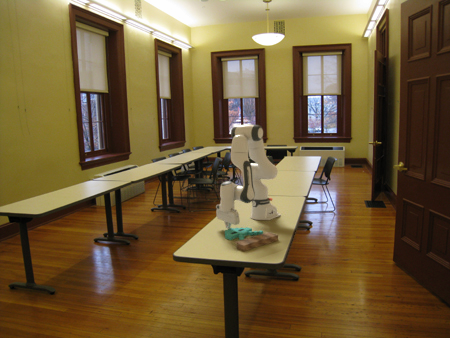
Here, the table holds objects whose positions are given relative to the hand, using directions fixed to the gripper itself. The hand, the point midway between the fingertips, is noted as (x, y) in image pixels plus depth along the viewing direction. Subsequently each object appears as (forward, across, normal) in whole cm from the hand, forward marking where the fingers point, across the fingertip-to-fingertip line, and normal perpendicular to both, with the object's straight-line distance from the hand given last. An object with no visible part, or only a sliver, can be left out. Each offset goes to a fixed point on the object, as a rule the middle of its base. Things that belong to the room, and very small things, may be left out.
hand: (228, 228), depth 232 cm
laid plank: (+2, -31, +2) cm, 31 cm away
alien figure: (+2, -12, -1) cm, 12 cm away
